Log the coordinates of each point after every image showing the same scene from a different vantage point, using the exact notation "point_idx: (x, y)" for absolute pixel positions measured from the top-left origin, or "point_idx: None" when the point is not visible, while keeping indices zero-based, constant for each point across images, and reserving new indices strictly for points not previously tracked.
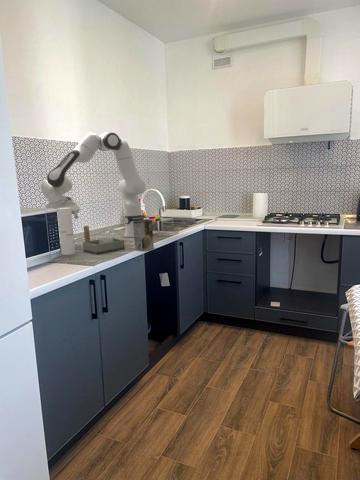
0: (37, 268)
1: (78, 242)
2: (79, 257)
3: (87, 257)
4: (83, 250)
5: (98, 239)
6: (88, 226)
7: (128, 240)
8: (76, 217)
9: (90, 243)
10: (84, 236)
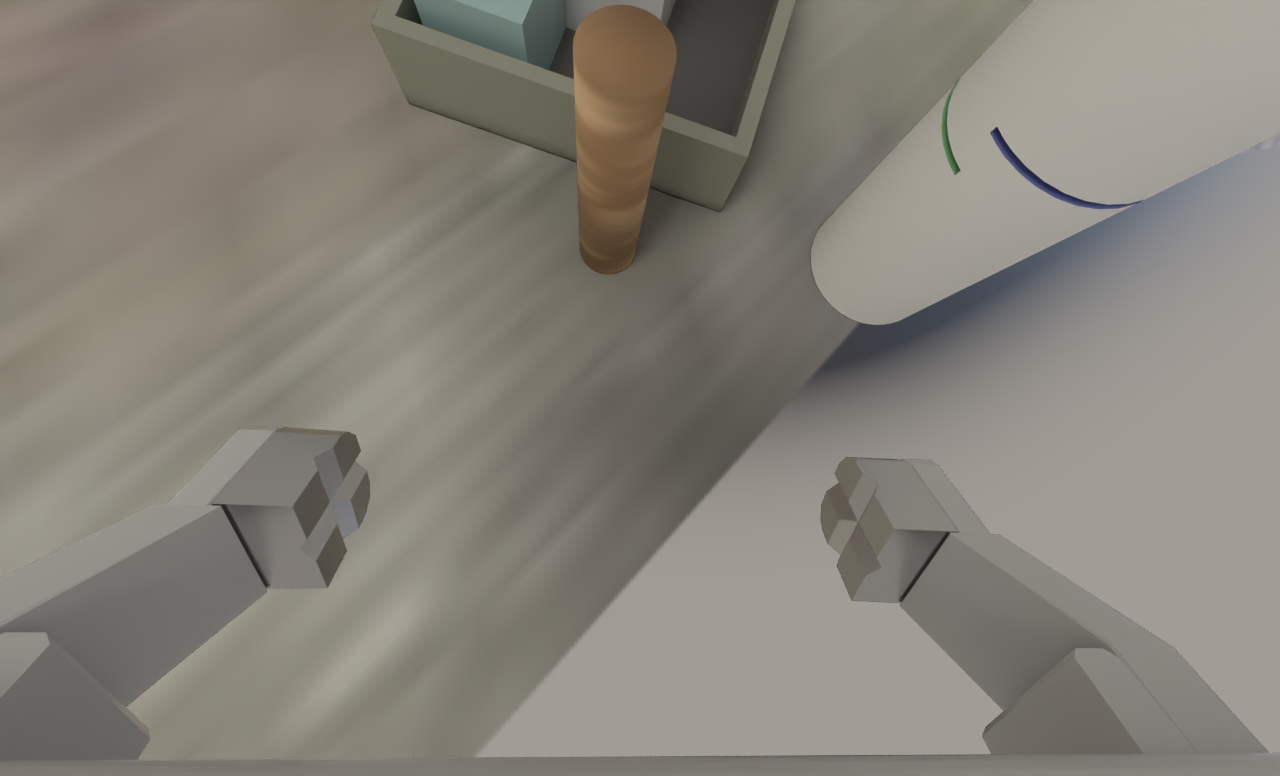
0: (1276, 135)
1: (330, 648)
2: (926, 73)
3: (897, 14)
4: (721, 209)
5: (541, 81)
6: (615, 6)
7: (48, 81)
8: (354, 450)
9: (775, 23)
10: (646, 188)
